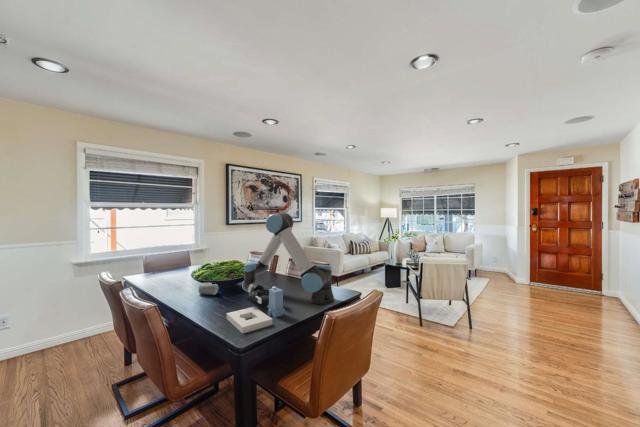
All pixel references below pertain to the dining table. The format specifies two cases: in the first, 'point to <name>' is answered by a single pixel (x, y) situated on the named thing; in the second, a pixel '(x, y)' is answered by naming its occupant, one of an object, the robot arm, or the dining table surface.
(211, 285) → the spool
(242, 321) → the frame
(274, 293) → the servo
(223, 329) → the dining table surface
